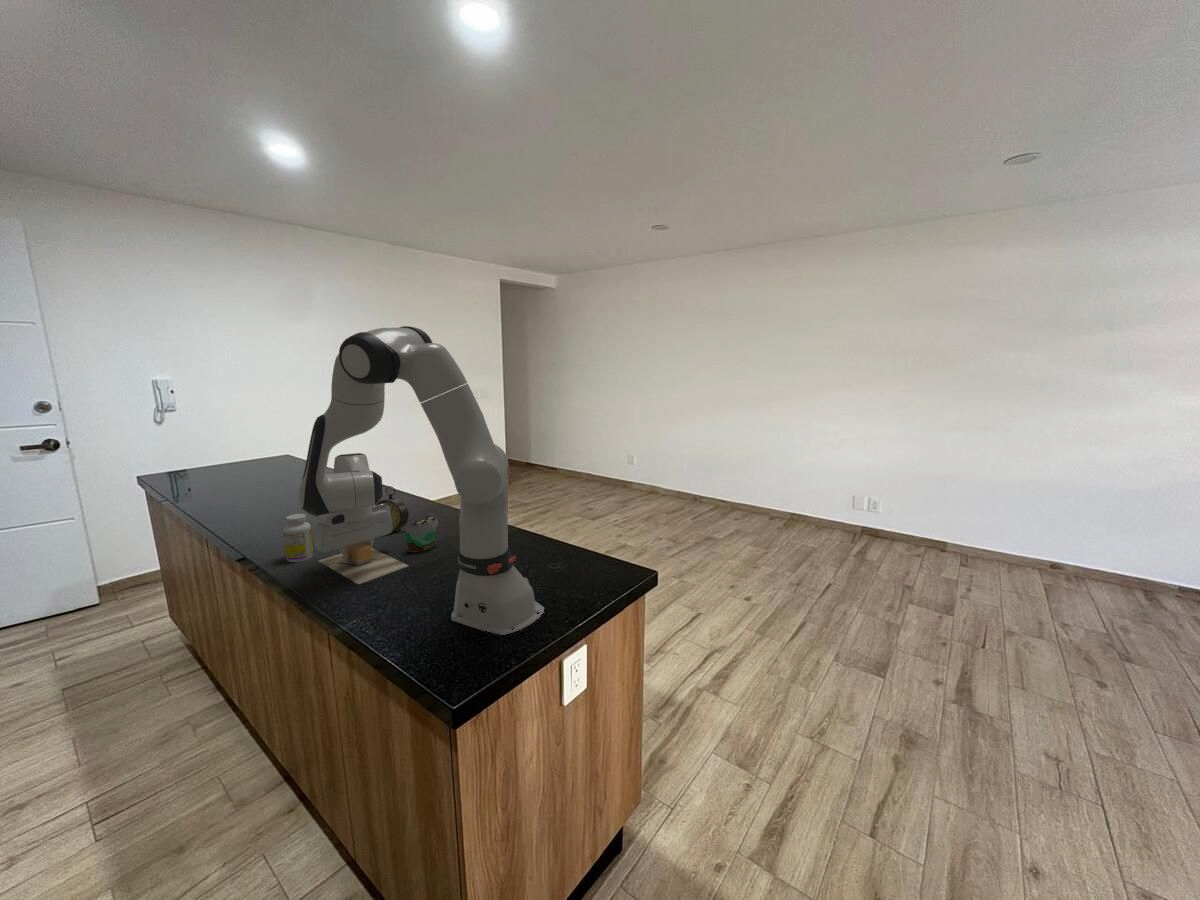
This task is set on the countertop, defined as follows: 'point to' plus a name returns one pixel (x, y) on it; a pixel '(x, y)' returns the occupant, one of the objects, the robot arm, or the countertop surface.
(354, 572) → the birch board
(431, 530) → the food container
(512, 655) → the countertop surface
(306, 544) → the supplement bottle
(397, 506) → the alarm clock
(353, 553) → the block
